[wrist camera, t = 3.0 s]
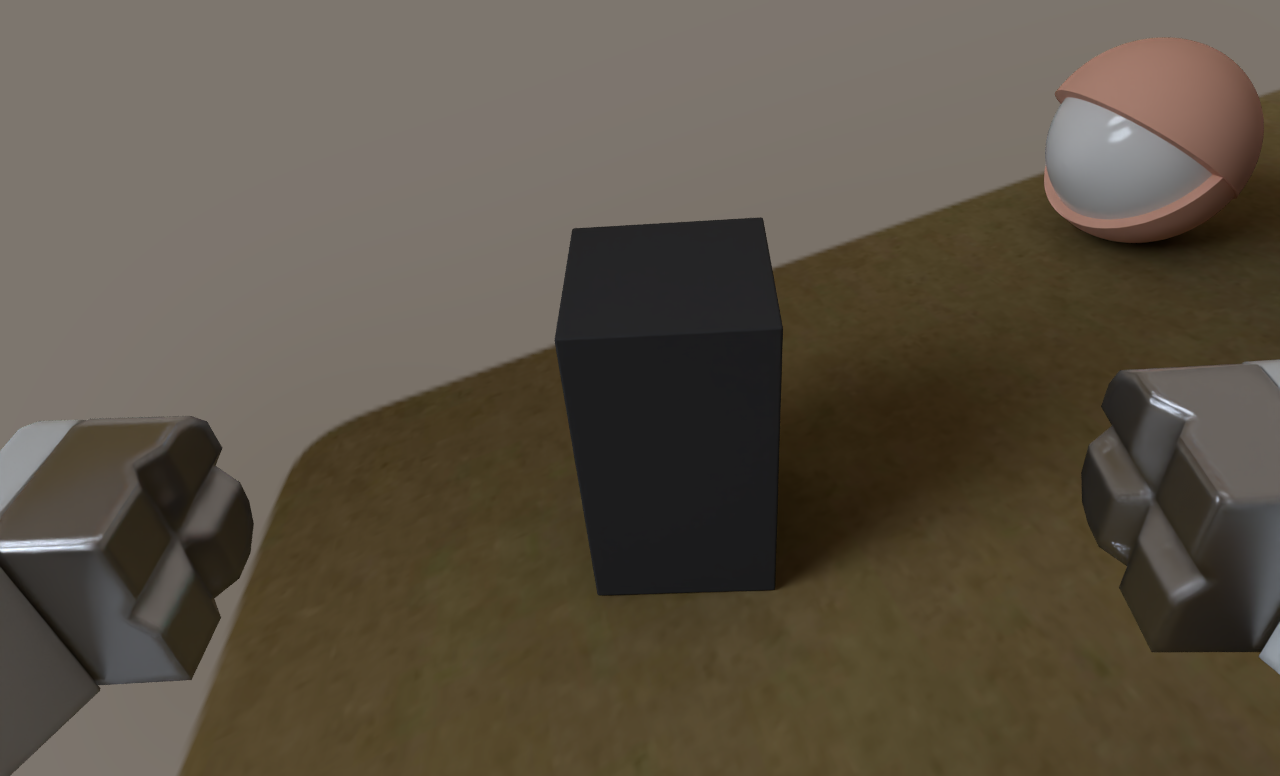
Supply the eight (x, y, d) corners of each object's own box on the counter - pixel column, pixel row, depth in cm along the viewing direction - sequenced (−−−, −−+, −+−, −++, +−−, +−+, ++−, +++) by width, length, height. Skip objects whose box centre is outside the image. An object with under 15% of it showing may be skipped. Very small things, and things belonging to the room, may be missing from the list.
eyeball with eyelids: (983, 211, 40) (1016, 32, 35) (1122, 173, 42) (1172, -2, 37) (1115, 298, 34) (1177, 98, 29) (1270, 250, 36) (1353, 53, 31)
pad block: (597, 596, 25) (553, 339, 19) (606, 472, 29) (572, 227, 23) (775, 590, 25) (783, 327, 19) (760, 465, 29) (762, 216, 23)
